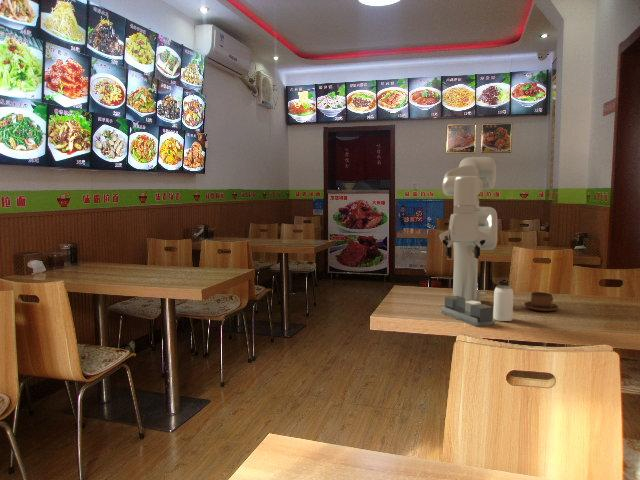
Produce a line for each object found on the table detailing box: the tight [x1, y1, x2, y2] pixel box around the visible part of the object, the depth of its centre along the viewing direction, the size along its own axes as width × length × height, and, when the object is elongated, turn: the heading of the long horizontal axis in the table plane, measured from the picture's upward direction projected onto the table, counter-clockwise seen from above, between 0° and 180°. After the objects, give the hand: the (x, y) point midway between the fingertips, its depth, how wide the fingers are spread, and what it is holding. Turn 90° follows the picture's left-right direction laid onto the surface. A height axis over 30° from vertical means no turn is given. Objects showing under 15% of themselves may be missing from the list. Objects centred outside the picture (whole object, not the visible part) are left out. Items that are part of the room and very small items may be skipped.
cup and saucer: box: [524, 291, 559, 312], centre depth 195 cm, size 12×12×6 cm
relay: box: [465, 300, 482, 312], centre depth 190 cm, size 5×4×4 cm
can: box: [493, 285, 514, 322], centre depth 179 cm, size 6×6×12 cm
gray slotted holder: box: [440, 295, 496, 328], centre depth 181 cm, size 8×20×6 cm, turn 22°
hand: (462, 257), depth 181 cm, fingers open, 9 cm apart
